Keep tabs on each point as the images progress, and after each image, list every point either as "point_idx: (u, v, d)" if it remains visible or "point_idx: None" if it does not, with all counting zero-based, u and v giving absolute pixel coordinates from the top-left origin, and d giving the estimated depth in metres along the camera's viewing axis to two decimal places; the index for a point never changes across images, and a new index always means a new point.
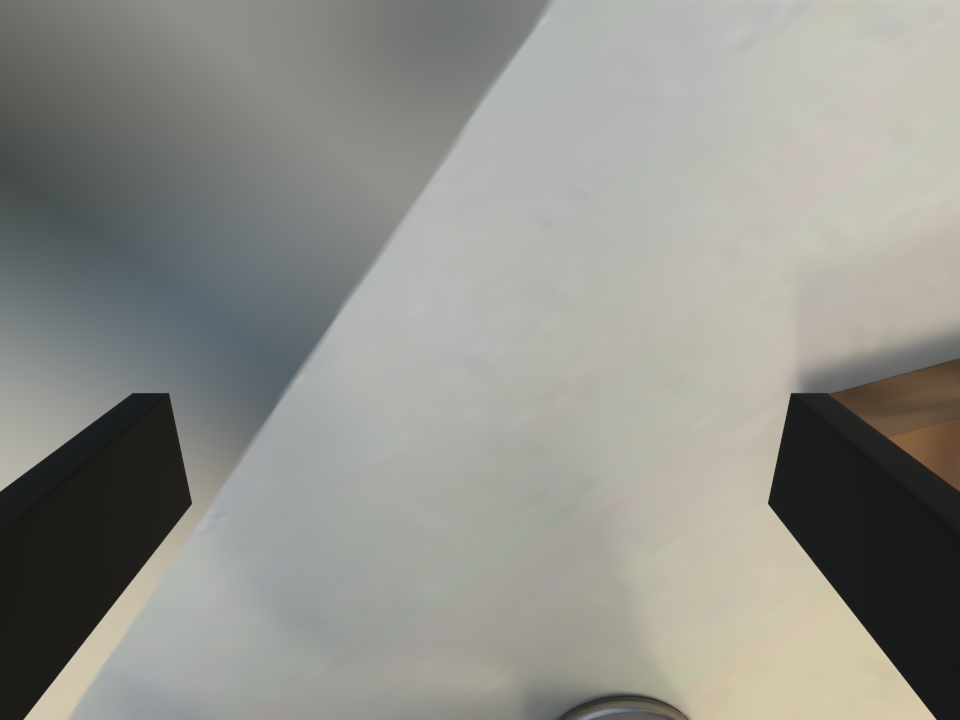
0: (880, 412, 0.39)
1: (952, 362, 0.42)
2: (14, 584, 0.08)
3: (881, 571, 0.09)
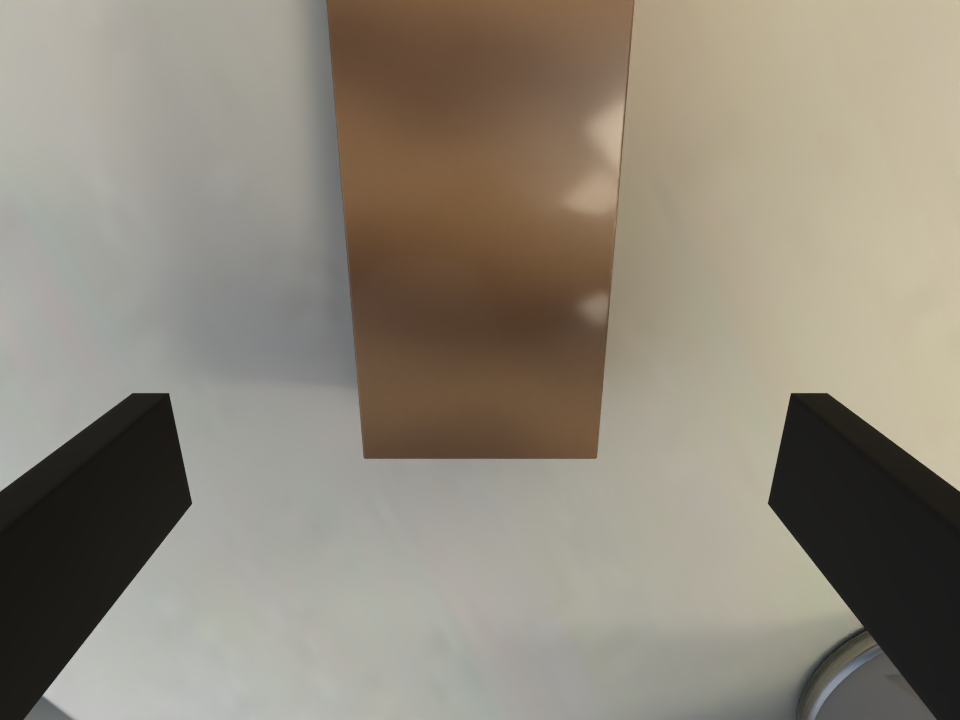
0: None
1: None
2: (13, 585, 0.08)
3: (881, 571, 0.09)
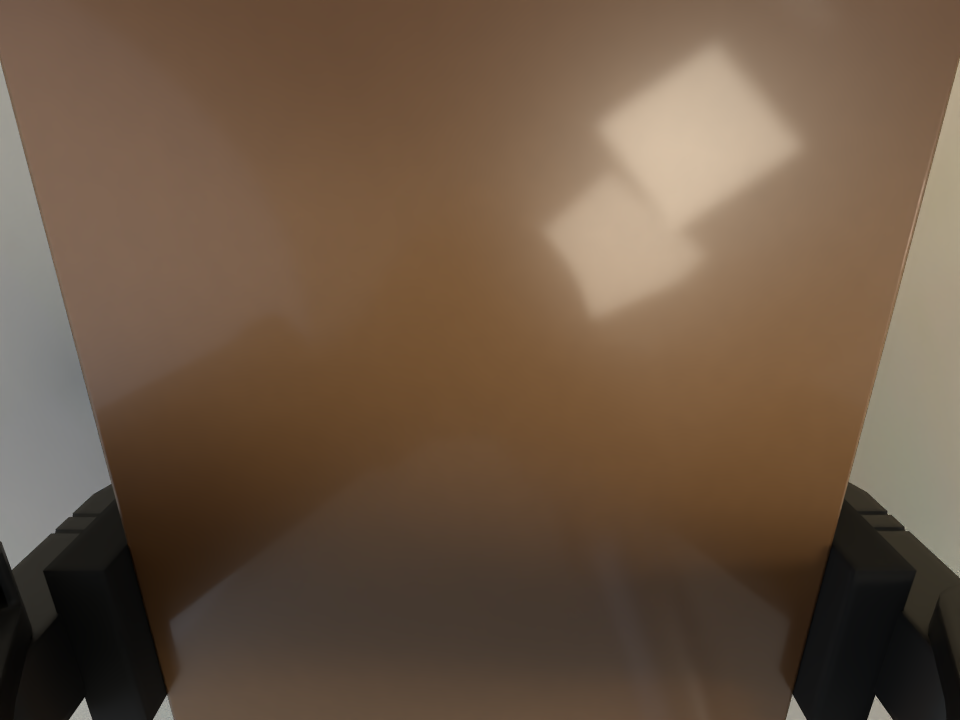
0: None
1: None
2: None
3: None
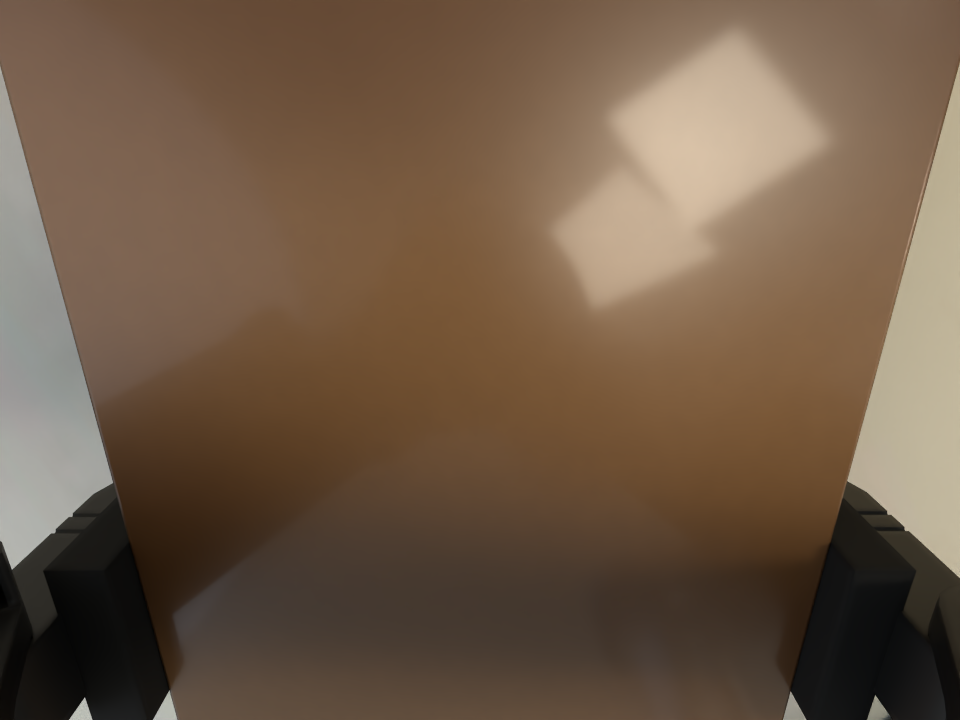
0: None
1: None
2: None
3: None
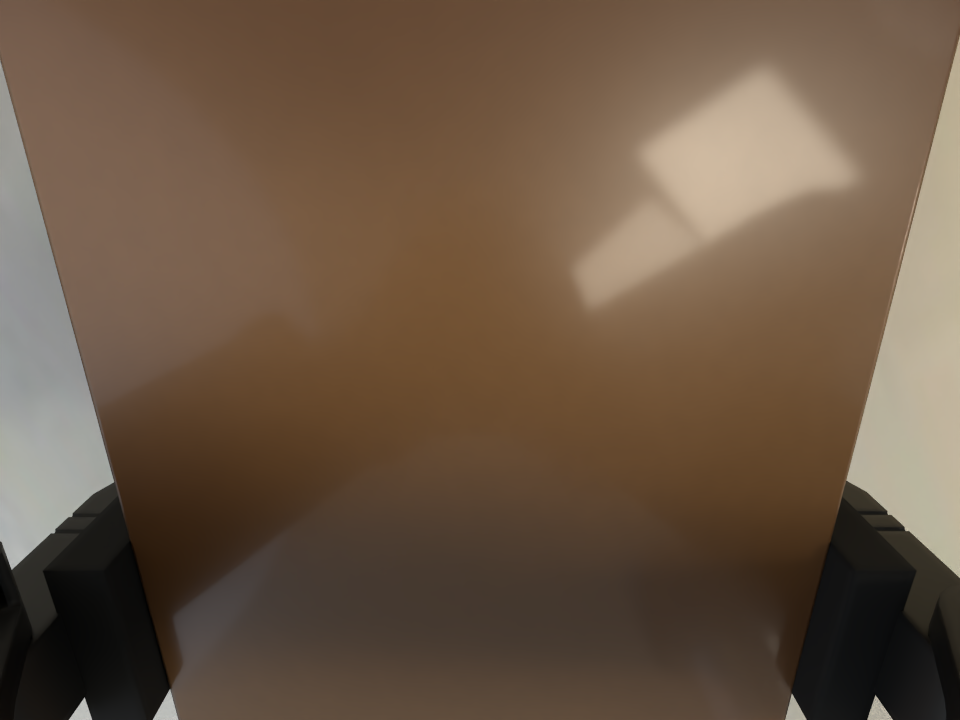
0: None
1: None
2: None
3: None
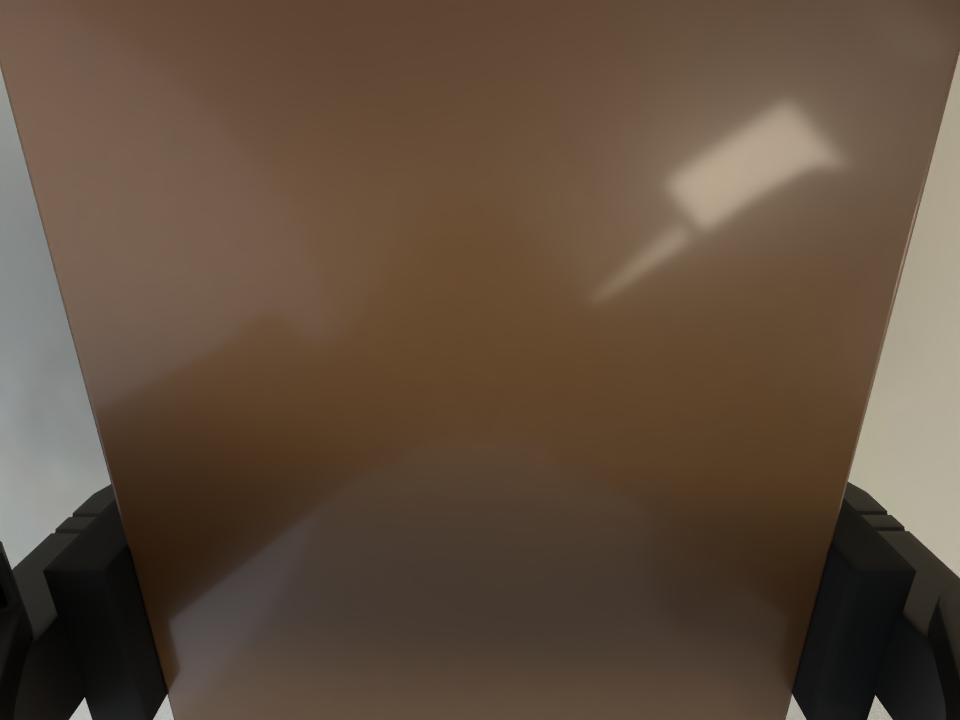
0: None
1: None
2: None
3: None
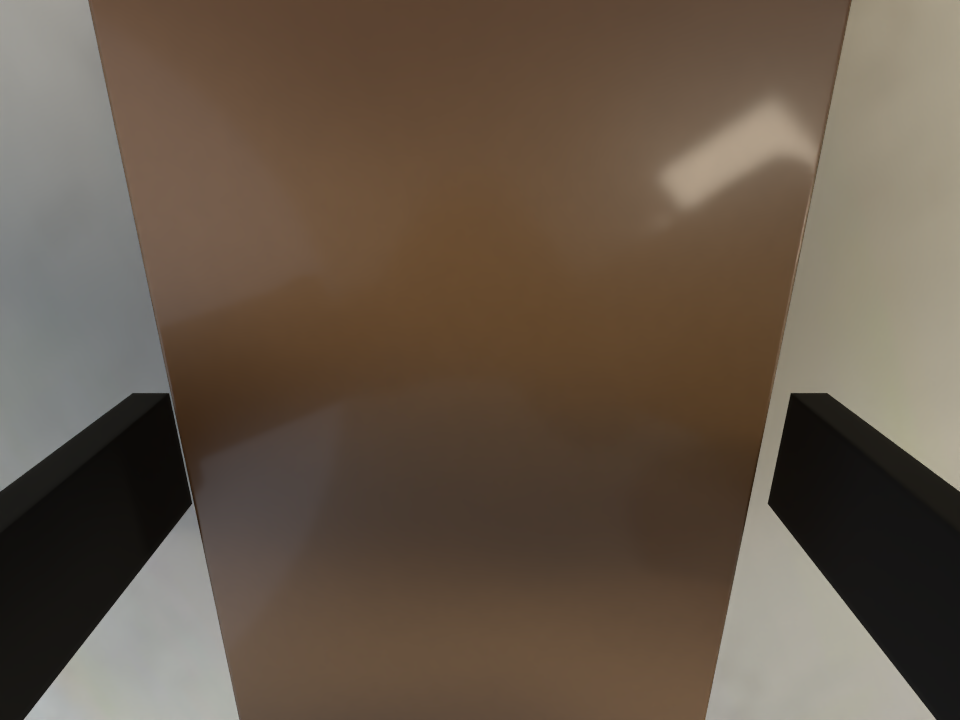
0: None
1: None
2: (14, 585, 0.08)
3: (881, 571, 0.09)
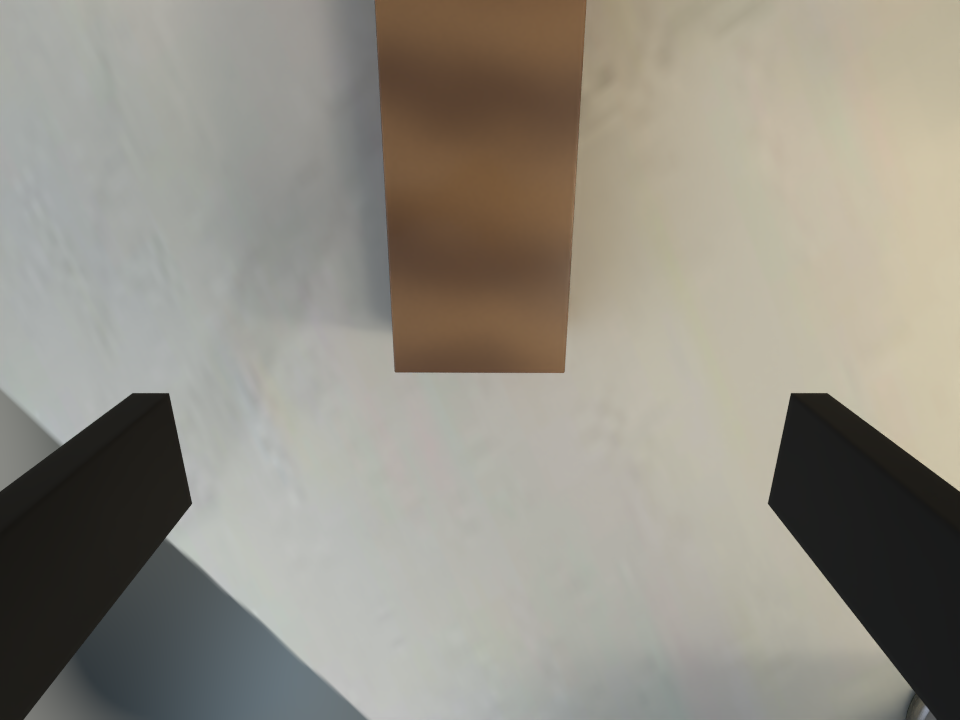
0: None
1: None
2: (13, 585, 0.08)
3: (881, 571, 0.09)
